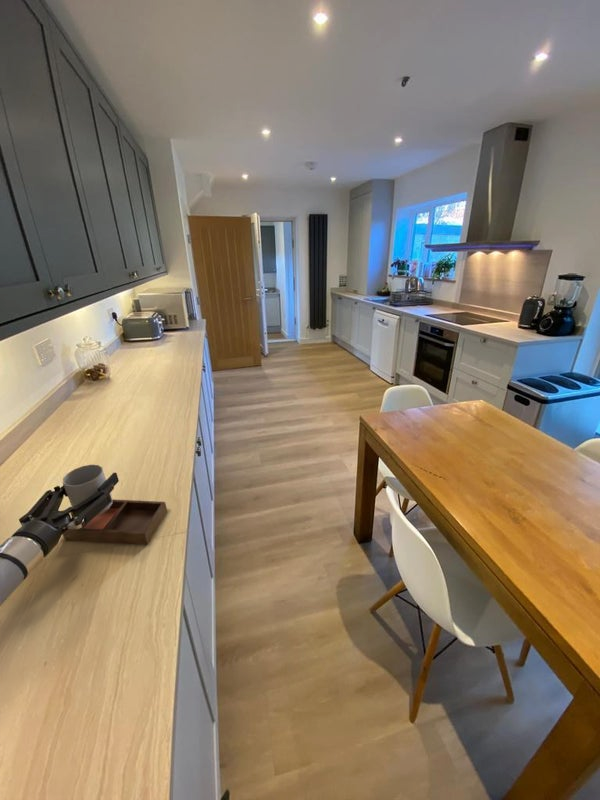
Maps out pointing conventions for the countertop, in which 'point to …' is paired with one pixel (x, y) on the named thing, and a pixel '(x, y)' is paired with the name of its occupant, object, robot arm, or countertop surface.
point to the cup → (84, 484)
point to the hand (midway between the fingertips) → (99, 476)
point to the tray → (123, 523)
